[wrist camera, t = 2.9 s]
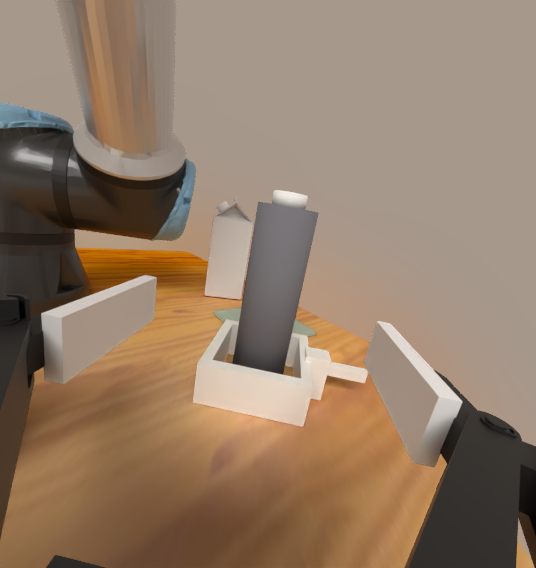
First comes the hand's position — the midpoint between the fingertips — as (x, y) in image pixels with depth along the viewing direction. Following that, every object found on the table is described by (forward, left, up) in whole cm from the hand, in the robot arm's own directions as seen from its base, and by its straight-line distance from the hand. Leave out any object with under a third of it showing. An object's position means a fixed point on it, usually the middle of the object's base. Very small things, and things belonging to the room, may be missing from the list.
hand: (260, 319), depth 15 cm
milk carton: (-33, +18, -11) cm, 39 cm away
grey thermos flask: (-7, +7, -11) cm, 15 cm away
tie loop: (-5, +9, -11) cm, 15 cm away
